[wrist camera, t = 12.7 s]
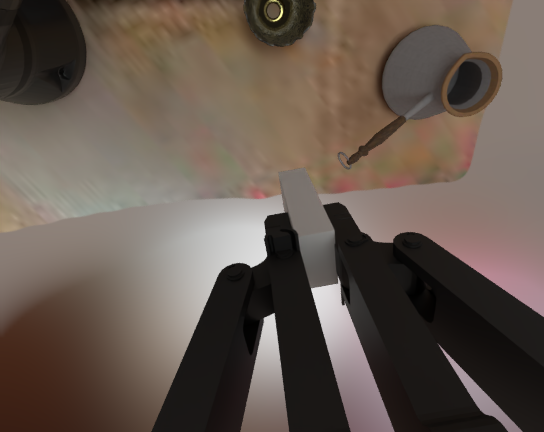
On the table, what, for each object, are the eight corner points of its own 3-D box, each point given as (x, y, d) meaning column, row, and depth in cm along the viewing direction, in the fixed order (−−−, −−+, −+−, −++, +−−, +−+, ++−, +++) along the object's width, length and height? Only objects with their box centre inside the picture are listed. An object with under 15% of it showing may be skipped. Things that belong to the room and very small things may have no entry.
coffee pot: (444, 6, 41) (539, -6, 28) (463, 89, 46) (549, 110, 33) (298, 94, 45) (321, 119, 32) (331, 161, 50) (362, 205, 37)
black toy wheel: (235, -16, 38) (234, -27, 31) (295, -36, 37) (307, -51, 31) (253, 52, 42) (255, 55, 35) (308, 35, 41) (321, 35, 34)
